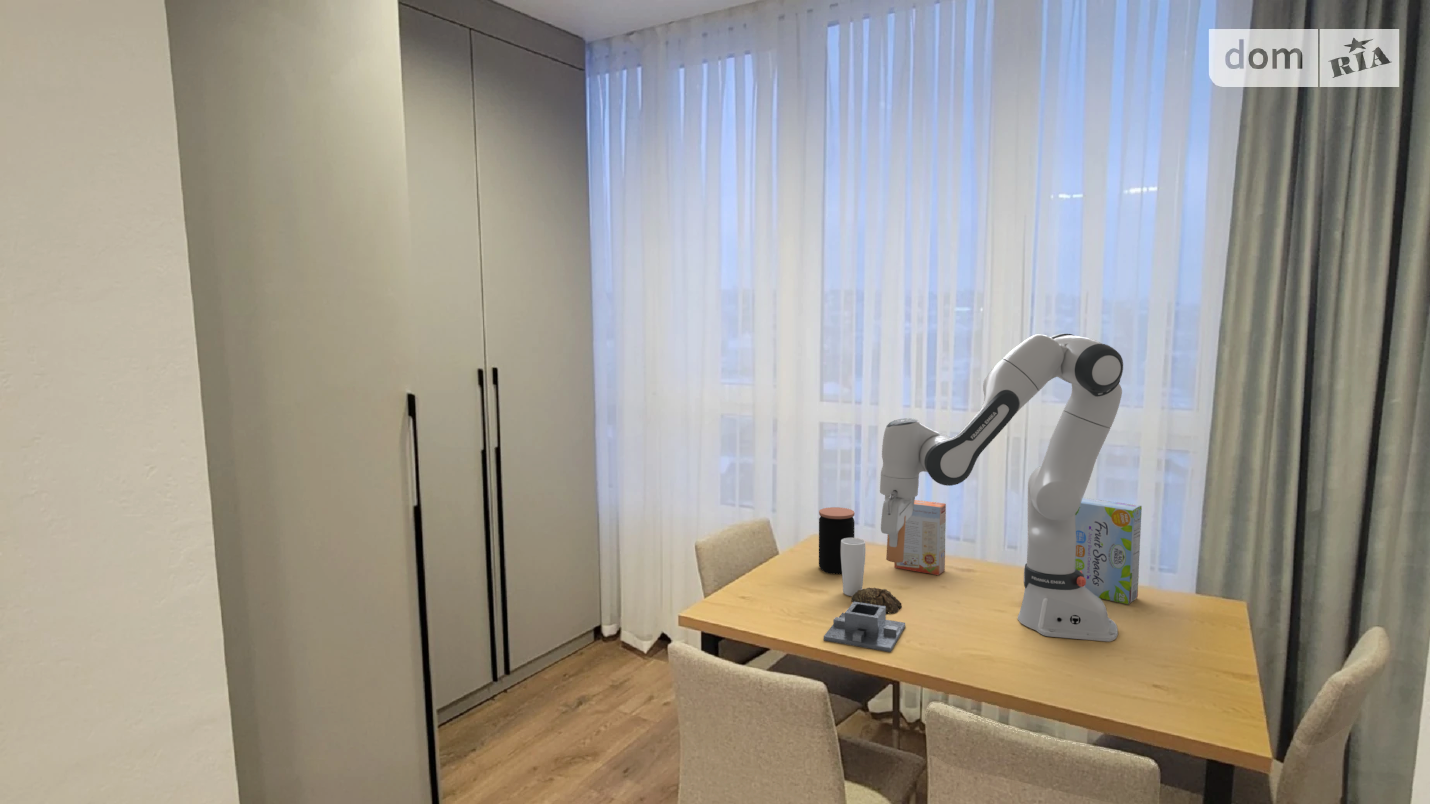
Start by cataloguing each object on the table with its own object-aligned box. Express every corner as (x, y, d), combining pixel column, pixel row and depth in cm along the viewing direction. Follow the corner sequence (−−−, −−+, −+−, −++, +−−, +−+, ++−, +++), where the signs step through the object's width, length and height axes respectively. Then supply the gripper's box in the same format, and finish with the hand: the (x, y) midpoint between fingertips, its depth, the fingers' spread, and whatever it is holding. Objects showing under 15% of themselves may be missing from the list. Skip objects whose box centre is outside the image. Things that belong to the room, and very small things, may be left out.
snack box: (1139, 597, 209) (1144, 504, 206) (1129, 606, 202) (1134, 511, 199) (1056, 579, 223) (1060, 492, 221) (1045, 587, 217) (1048, 498, 214)
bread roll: (846, 600, 210) (846, 582, 209) (888, 595, 213) (888, 578, 212) (866, 617, 198) (867, 599, 197) (910, 612, 201) (910, 594, 200)
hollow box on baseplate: (905, 626, 191) (905, 603, 190) (890, 652, 177) (891, 627, 176) (842, 616, 198) (842, 593, 197) (823, 640, 183) (823, 616, 183)
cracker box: (945, 570, 232) (947, 502, 230) (938, 576, 227) (940, 507, 225) (900, 562, 240) (901, 497, 238) (893, 568, 235) (894, 501, 233)
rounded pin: (904, 558, 186) (907, 514, 185) (901, 563, 183) (904, 518, 181) (888, 555, 188) (890, 512, 186) (884, 560, 184) (887, 515, 183)
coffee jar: (859, 567, 236) (860, 509, 234) (845, 577, 227) (846, 517, 225) (827, 561, 242) (827, 505, 240) (812, 571, 233) (813, 513, 231)
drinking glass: (866, 597, 210) (867, 544, 209) (842, 598, 211) (842, 544, 209) (862, 589, 217) (863, 537, 215) (838, 589, 217) (839, 537, 216)
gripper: (903, 497, 172) (900, 557, 174) (920, 479, 191) (916, 534, 192) (875, 494, 175) (872, 553, 177) (894, 477, 193) (891, 530, 195)
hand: (895, 543), depth 185 cm, fingers closed on rounded pin, 4 cm apart
